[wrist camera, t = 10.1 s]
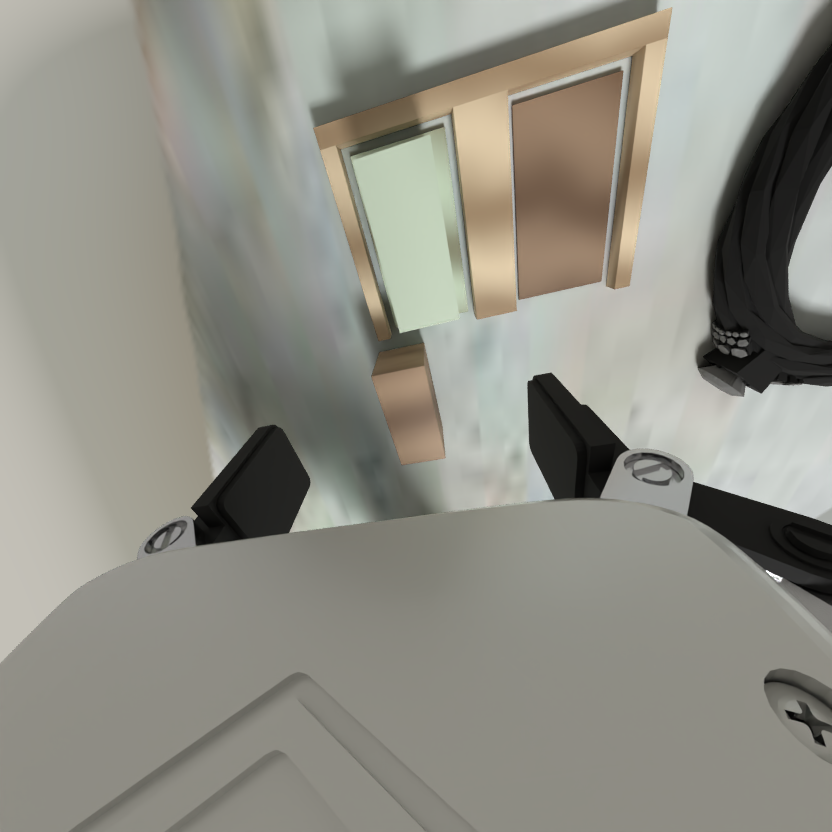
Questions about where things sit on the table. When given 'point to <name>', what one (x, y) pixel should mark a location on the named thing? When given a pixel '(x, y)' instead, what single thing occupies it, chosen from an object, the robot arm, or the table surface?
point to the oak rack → (524, 168)
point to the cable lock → (772, 252)
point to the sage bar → (409, 232)
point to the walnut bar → (409, 403)
